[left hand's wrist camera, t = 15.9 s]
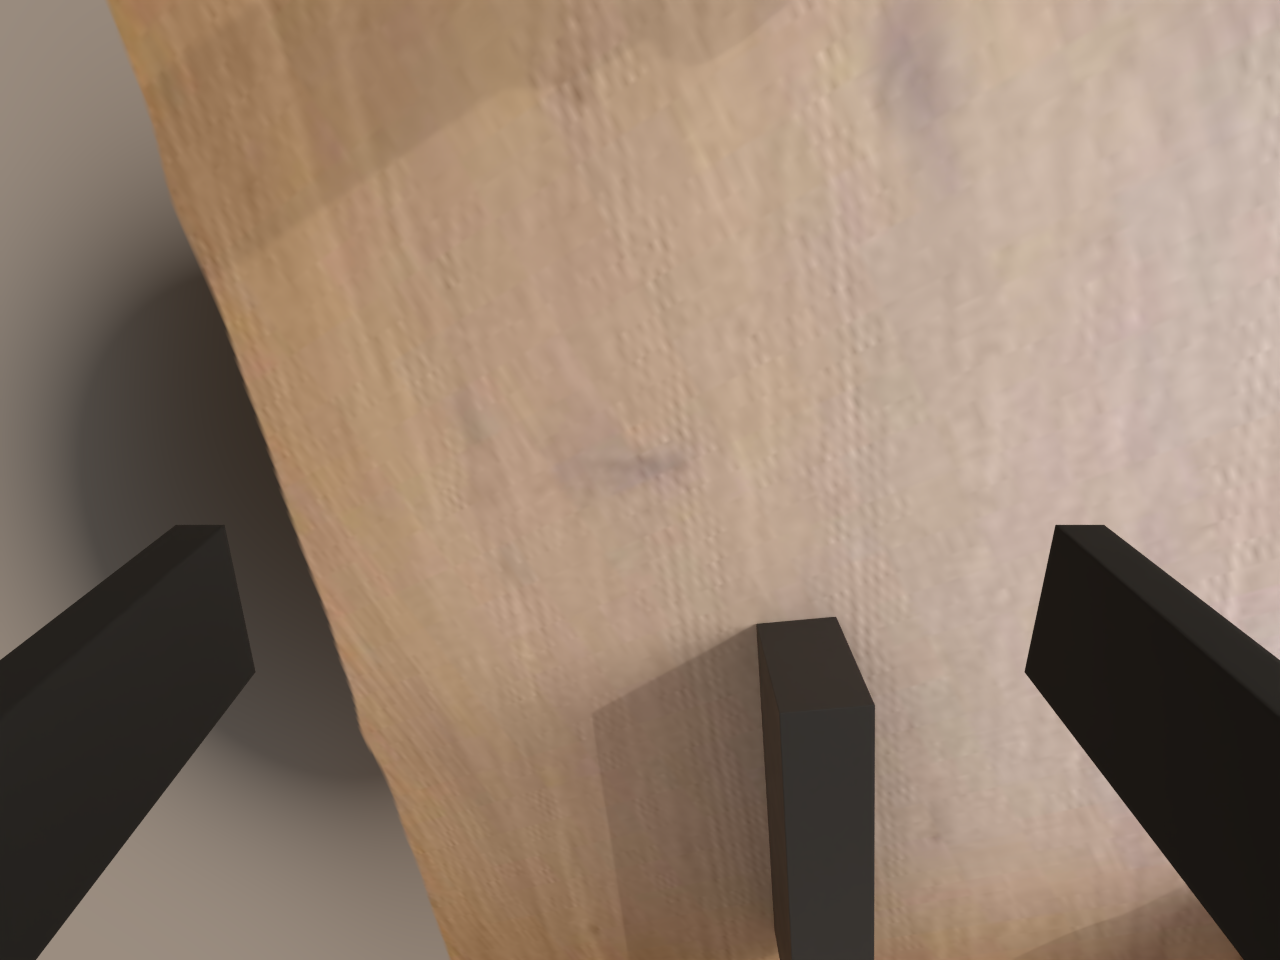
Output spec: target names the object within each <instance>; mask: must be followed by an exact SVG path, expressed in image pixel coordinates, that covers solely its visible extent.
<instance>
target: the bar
mask: <svg viewBox="0 0 1280 960" xmlns="http://www.w3.org/2000/svg"><path fill="white" fill-rule="evenodd" d="M757 642H758V659H759V676H760V692H761V709H762V726H763V743H764V759H765V776H766V793H767V809H768V826H769V843H770V860H771V876H772V893H773V910H774V927H775V935H776V941H777V946H778V952H779V958H780V960H874V801H875V705H874V702H873V700H872V698H871V695H870V693H869V691H868V689H867V686H866V684H865V682H864V680H863V677H862V675H861V673H860V670H859V668H858V666H857V664H856V661H855V659H854V657H853V654H852V652H851V650H850V648H849V645H848V643H847V641H846V638H845V636H844V634H843V632H842V629H841V627H840V625H839V622H838V620H837V618H836V617H829V618H818V619H807V620H796V621H785V622H774V623H763V624H757Z"/></svg>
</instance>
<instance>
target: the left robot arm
mask: <svg viewBox="0 0 1280 960" xmlns="http://www.w3.org/2000/svg"><path fill="white" fill-rule="evenodd" d="M254 673H255V668H254V663H253V658H252V653H251V649H250V644H249V639H248V635H247V630H246V625H245V620H244V616H243V611H242V606H241V602H240V597H239V592H238V587H237V583H236V578H235V573H234V568H233V563H232V559H231V554H230V549H229V544H228V540H227V535H226V530H225V526H224V525H175V526H174V527H173V528H171V529H170V530H169V531H167V532H166V533H165V534H164V535H162V536H161V537H160V538H158V539H157V540H156V541H155V542H153V543H152V544H151V545H149V546H148V547H147V548H145V549H144V550H143V551H142V552H140V553H139V554H138V555H136V556H135V557H134V558H133V559H131V560H130V561H129V562H127V563H126V564H125V565H123V566H122V567H121V568H119V569H118V570H117V571H116V572H114V573H113V574H112V575H110V576H109V577H108V578H106V579H105V580H104V581H103V582H101V583H100V584H99V585H97V586H96V587H95V588H93V589H92V590H91V591H90V592H88V593H87V594H86V595H84V596H83V597H82V598H80V599H79V600H78V601H77V602H75V603H74V604H73V605H71V606H70V607H69V608H67V609H66V610H65V611H64V612H62V613H61V614H60V615H58V616H57V617H56V618H54V619H53V620H52V621H51V622H49V623H48V624H47V625H45V626H44V627H43V628H41V629H40V630H39V631H38V632H36V633H35V634H34V635H32V636H31V637H30V638H28V639H27V640H26V641H25V642H23V643H22V644H21V645H19V646H18V647H17V648H16V649H14V650H13V651H12V652H10V653H9V654H8V655H6V656H5V657H4V658H2V659H1V660H0V960H36V959H37V958H38V956H39V955H40V954H41V952H42V951H43V950H44V948H45V947H46V946H47V944H48V943H49V942H50V941H51V939H52V938H53V937H54V935H55V934H56V933H57V931H58V930H59V929H60V928H61V926H62V925H63V924H64V922H65V921H66V920H67V918H68V917H69V916H70V914H71V913H72V912H73V910H74V909H75V908H76V907H77V905H78V904H79V903H80V901H81V900H82V899H83V897H84V896H85V895H86V893H87V892H88V891H89V889H90V888H91V887H92V886H93V884H94V883H95V882H96V880H97V879H98V878H99V876H100V875H101V874H102V872H103V871H104V870H105V868H106V867H107V866H108V865H109V863H110V862H111V861H112V859H113V858H114V857H115V855H116V854H117V853H118V851H119V850H120V849H121V847H122V846H123V845H124V844H125V842H126V841H127V840H128V838H129V837H130V836H131V834H132V833H133V832H134V831H135V829H136V828H137V826H138V825H139V824H140V823H141V821H142V820H143V819H144V817H145V816H146V815H147V813H148V812H149V811H150V810H151V808H152V807H153V806H154V804H155V803H156V802H157V800H158V799H159V798H160V796H161V795H162V794H163V792H164V791H165V790H166V788H167V787H168V786H169V785H170V783H171V782H172V781H173V779H174V778H175V777H176V775H177V774H178V773H179V772H180V770H181V769H182V767H183V766H184V765H185V764H186V762H187V761H188V760H189V758H190V757H191V756H192V754H193V753H194V752H195V751H196V749H197V748H198V747H199V745H200V744H201V743H202V741H203V740H204V739H205V737H206V736H207V735H208V734H209V732H210V731H211V730H212V728H213V727H214V726H215V724H216V723H217V722H218V720H219V719H220V718H221V716H222V715H223V714H224V713H225V711H226V710H227V709H228V707H229V706H230V705H231V703H232V702H233V701H234V699H235V698H236V697H237V695H238V694H239V693H240V692H241V690H242V689H243V688H244V686H245V685H246V684H247V682H248V681H249V680H250V678H251V677H252V676H253V675H254ZM1025 673H1026V675H1027V676H1028V677H1029V678H1030V680H1031V681H1032V682H1033V684H1034V685H1035V686H1036V688H1037V689H1038V690H1039V692H1040V693H1041V694H1042V695H1043V697H1044V698H1045V699H1046V701H1047V702H1048V703H1049V705H1050V706H1051V707H1052V709H1053V710H1054V711H1055V713H1056V714H1057V715H1058V716H1059V718H1060V719H1061V720H1062V722H1063V723H1064V724H1065V726H1066V727H1067V728H1068V730H1069V731H1070V732H1071V734H1072V735H1073V736H1074V737H1075V739H1076V740H1077V741H1078V743H1079V744H1080V745H1081V747H1082V748H1083V749H1084V751H1085V752H1086V753H1087V754H1088V756H1089V757H1090V758H1091V760H1092V761H1093V762H1094V764H1095V765H1096V766H1097V768H1098V769H1099V770H1100V772H1101V773H1102V774H1103V775H1104V777H1105V778H1106V779H1107V781H1108V782H1109V783H1110V785H1111V786H1112V787H1113V789H1114V790H1115V791H1116V792H1117V794H1118V795H1119V796H1120V798H1121V799H1122V800H1123V802H1124V803H1125V804H1126V806H1127V807H1128V808H1129V810H1130V811H1131V812H1132V813H1133V815H1134V816H1135V817H1136V819H1137V820H1138V821H1139V823H1140V824H1141V825H1142V827H1143V828H1144V829H1145V831H1146V832H1147V833H1148V834H1149V836H1150V837H1151V838H1152V840H1153V841H1154V842H1155V844H1156V845H1157V846H1158V848H1159V849H1160V850H1161V851H1162V853H1163V854H1164V855H1165V857H1166V858H1167V859H1168V861H1169V862H1170V863H1171V865H1172V866H1173V867H1174V869H1175V870H1176V871H1177V872H1178V874H1179V875H1180V876H1181V878H1182V879H1183V880H1184V882H1185V883H1186V884H1187V886H1188V887H1189V888H1190V889H1191V891H1192V892H1193V893H1194V895H1195V896H1196V897H1197V899H1198V900H1199V901H1200V903H1201V904H1202V905H1203V907H1204V908H1205V909H1206V910H1207V912H1208V913H1209V914H1210V916H1211V917H1212V918H1213V920H1214V921H1215V922H1216V924H1217V925H1218V926H1219V928H1220V929H1221V930H1222V931H1223V933H1224V934H1225V935H1226V937H1227V938H1228V939H1229V941H1230V942H1231V943H1232V945H1233V946H1234V947H1235V948H1236V950H1237V951H1238V952H1239V954H1240V955H1241V956H1242V958H1243V959H1244V960H1280V660H1279V659H1278V658H1276V657H1275V656H1274V655H1272V654H1271V653H1270V652H1268V651H1267V650H1266V649H1265V648H1263V647H1262V646H1261V645H1259V644H1258V643H1257V642H1255V641H1254V640H1253V639H1252V638H1250V637H1249V636H1248V635H1246V634H1245V633H1244V632H1242V631H1241V630H1240V629H1239V628H1237V627H1236V626H1235V625H1233V624H1232V623H1231V622H1229V621H1228V620H1227V619H1226V618H1224V617H1223V616H1222V615H1220V614H1219V613H1218V612H1216V611H1215V610H1214V609H1213V608H1211V607H1210V606H1209V605H1207V604H1206V603H1205V602H1203V601H1202V600H1201V599H1200V598H1198V597H1197V596H1196V595H1194V594H1193V593H1192V592H1190V591H1189V590H1188V589H1187V588H1185V587H1184V586H1183V585H1181V584H1180V583H1179V582H1177V581H1176V580H1175V579H1174V578H1172V577H1171V576H1170V575H1168V574H1167V573H1166V572H1164V571H1163V570H1162V569H1161V568H1159V567H1158V566H1157V565H1155V564H1154V563H1153V562H1151V561H1150V560H1149V559H1148V558H1146V557H1145V556H1144V555H1142V554H1141V553H1140V552H1138V551H1137V550H1136V549H1135V548H1133V547H1132V546H1131V545H1129V544H1128V543H1127V542H1125V541H1124V540H1123V539H1122V538H1120V537H1119V536H1118V535H1116V534H1115V533H1114V532H1113V531H1111V530H1110V529H1109V528H1107V527H1106V526H1105V525H1055V530H1054V535H1053V540H1052V544H1051V549H1050V554H1049V559H1048V563H1047V568H1046V573H1045V578H1044V582H1043V587H1042V592H1041V597H1040V601H1039V606H1038V611H1037V616H1036V620H1035V625H1034V630H1033V634H1032V639H1031V644H1030V649H1029V653H1028V658H1027V663H1026V668H1025Z"/></svg>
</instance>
